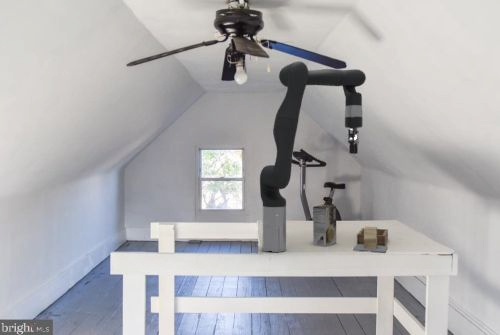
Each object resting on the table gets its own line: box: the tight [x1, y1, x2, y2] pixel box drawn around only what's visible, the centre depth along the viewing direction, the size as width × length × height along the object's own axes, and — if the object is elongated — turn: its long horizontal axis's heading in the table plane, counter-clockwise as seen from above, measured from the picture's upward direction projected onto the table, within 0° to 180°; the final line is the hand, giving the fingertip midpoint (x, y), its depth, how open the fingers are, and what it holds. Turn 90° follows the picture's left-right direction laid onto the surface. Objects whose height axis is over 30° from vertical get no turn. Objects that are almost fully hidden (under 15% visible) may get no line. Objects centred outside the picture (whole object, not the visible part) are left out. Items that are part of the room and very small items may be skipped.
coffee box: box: [312, 204, 337, 247], centre depth 181 cm, size 9×6×16 cm
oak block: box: [363, 225, 378, 249], centre depth 170 cm, size 4×4×8 cm
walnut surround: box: [356, 227, 389, 246], centre depth 185 cm, size 18×11×4 cm, turn 159°
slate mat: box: [352, 243, 388, 254], centre depth 170 cm, size 11×12×1 cm
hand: (353, 153), depth 189 cm, fingers open, 8 cm apart
